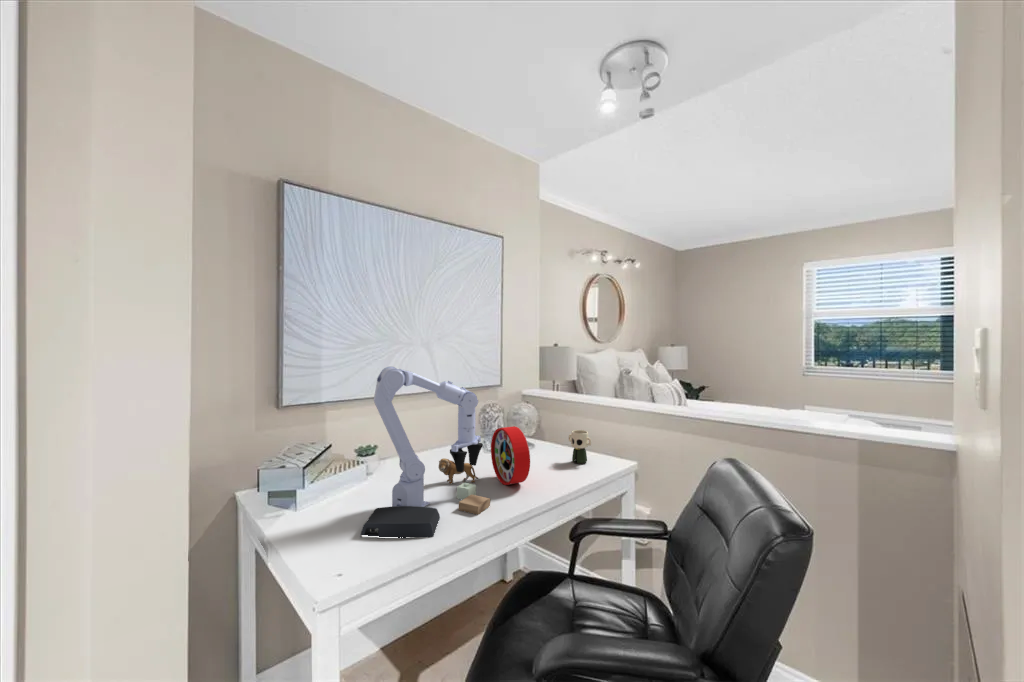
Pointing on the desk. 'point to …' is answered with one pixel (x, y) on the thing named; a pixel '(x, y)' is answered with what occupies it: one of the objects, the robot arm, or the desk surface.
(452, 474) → the lion figurine
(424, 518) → the external hard drive
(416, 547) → the desk surface
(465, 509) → the base brick
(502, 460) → the toy clock
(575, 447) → the character mug
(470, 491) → the sage brick
